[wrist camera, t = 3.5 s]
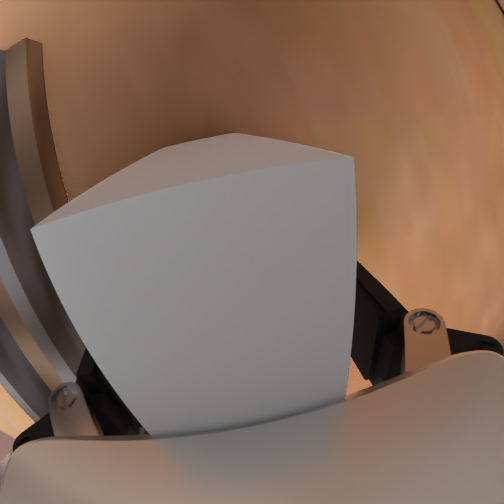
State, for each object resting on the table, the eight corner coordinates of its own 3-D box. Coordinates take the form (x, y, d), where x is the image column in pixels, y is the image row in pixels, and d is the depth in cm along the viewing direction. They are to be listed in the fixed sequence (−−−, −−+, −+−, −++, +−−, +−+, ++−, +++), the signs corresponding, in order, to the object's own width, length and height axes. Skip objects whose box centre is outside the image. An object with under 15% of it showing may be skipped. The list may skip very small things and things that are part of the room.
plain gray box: (163, 147, 11) (29, 229, 2) (234, 132, 11) (353, 156, 2) (220, 359, 16) (246, 522, 7) (270, 349, 16) (321, 506, 8)
